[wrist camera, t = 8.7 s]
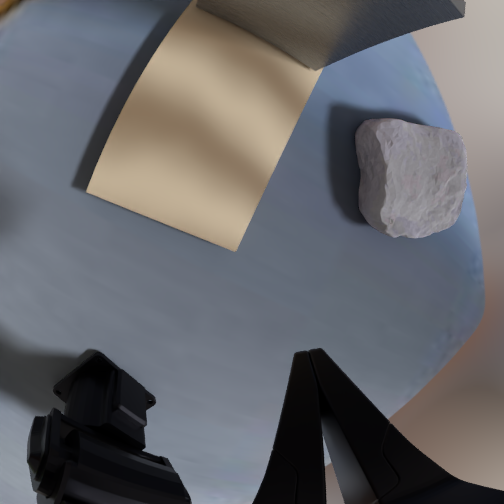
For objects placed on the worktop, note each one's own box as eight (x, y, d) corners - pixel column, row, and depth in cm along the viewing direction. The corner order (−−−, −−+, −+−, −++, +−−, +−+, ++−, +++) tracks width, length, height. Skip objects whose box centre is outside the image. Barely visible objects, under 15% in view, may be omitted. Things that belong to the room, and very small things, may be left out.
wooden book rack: (230, 247, 20) (312, 330, 10) (90, 190, 16) (11, 223, 6) (347, 8, 18) (445, -41, 7) (243, -53, 14) (304, -139, 3)
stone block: (427, 217, 28) (441, 125, 23) (459, 236, 24) (478, 136, 19) (338, 228, 25) (347, 111, 21) (370, 254, 21) (387, 117, 17)
